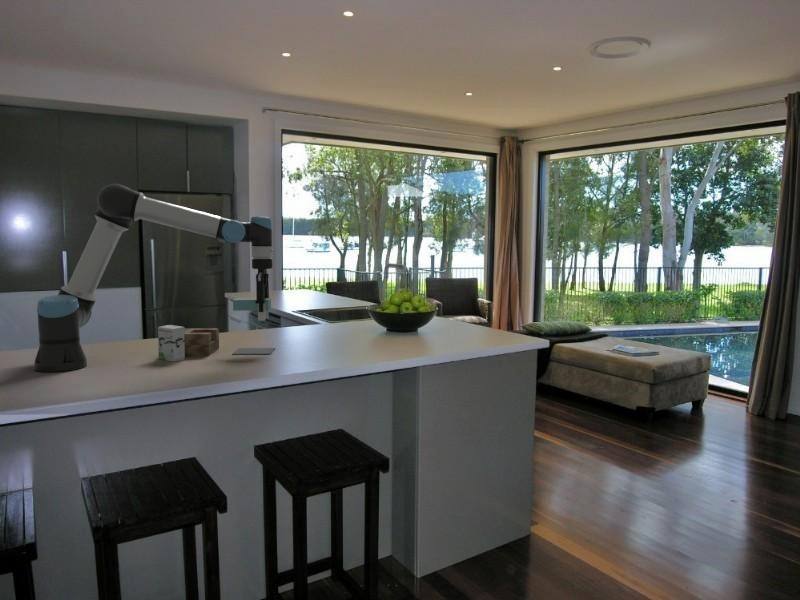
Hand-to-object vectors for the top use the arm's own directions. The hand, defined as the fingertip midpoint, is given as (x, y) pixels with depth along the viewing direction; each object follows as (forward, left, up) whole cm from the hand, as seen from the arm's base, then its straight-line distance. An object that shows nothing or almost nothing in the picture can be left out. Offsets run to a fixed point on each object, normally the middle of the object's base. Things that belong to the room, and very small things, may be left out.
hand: (263, 319), depth 227 cm
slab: (-4, 0, +4) cm, 5 cm away
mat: (-4, 0, -12) cm, 13 cm away
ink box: (-30, -14, -13) cm, 35 cm away
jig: (-27, 0, -12) cm, 29 cm away
